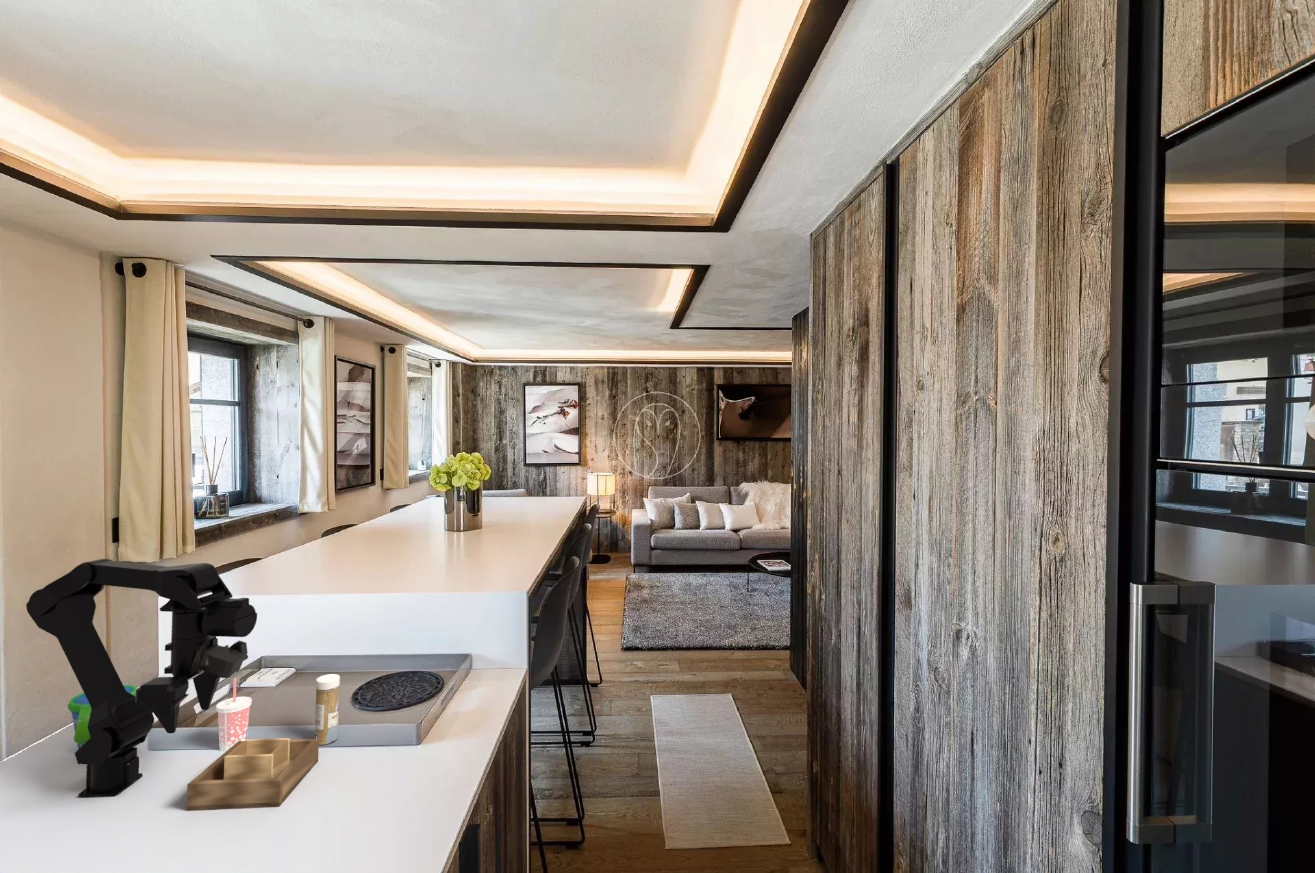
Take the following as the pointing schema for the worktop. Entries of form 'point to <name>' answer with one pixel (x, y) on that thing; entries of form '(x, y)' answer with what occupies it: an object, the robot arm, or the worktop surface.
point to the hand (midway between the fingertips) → (188, 720)
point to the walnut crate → (251, 782)
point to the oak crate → (257, 759)
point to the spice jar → (326, 705)
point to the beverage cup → (233, 719)
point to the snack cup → (85, 715)
